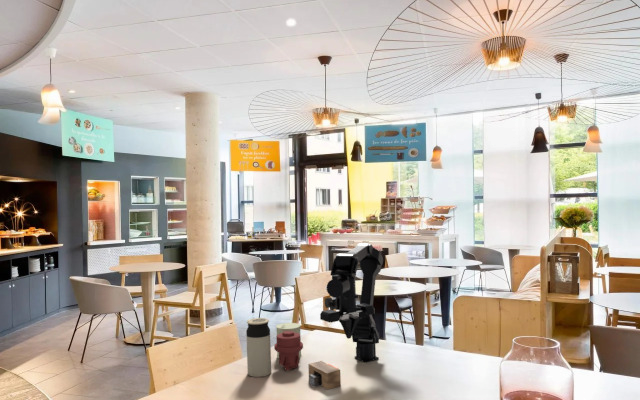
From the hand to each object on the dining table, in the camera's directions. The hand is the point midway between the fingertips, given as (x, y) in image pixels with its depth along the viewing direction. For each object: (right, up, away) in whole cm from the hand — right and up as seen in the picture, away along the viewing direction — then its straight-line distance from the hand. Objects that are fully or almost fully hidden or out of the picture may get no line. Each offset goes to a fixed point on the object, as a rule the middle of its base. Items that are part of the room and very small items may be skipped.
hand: (348, 338), depth 165 cm
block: (-8, -12, -7) cm, 16 cm away
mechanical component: (-20, -13, +8) cm, 25 cm away
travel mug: (-30, -13, +3) cm, 33 cm away
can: (-21, -13, +20) cm, 32 cm away
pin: (-9, -12, -8) cm, 17 cm away
